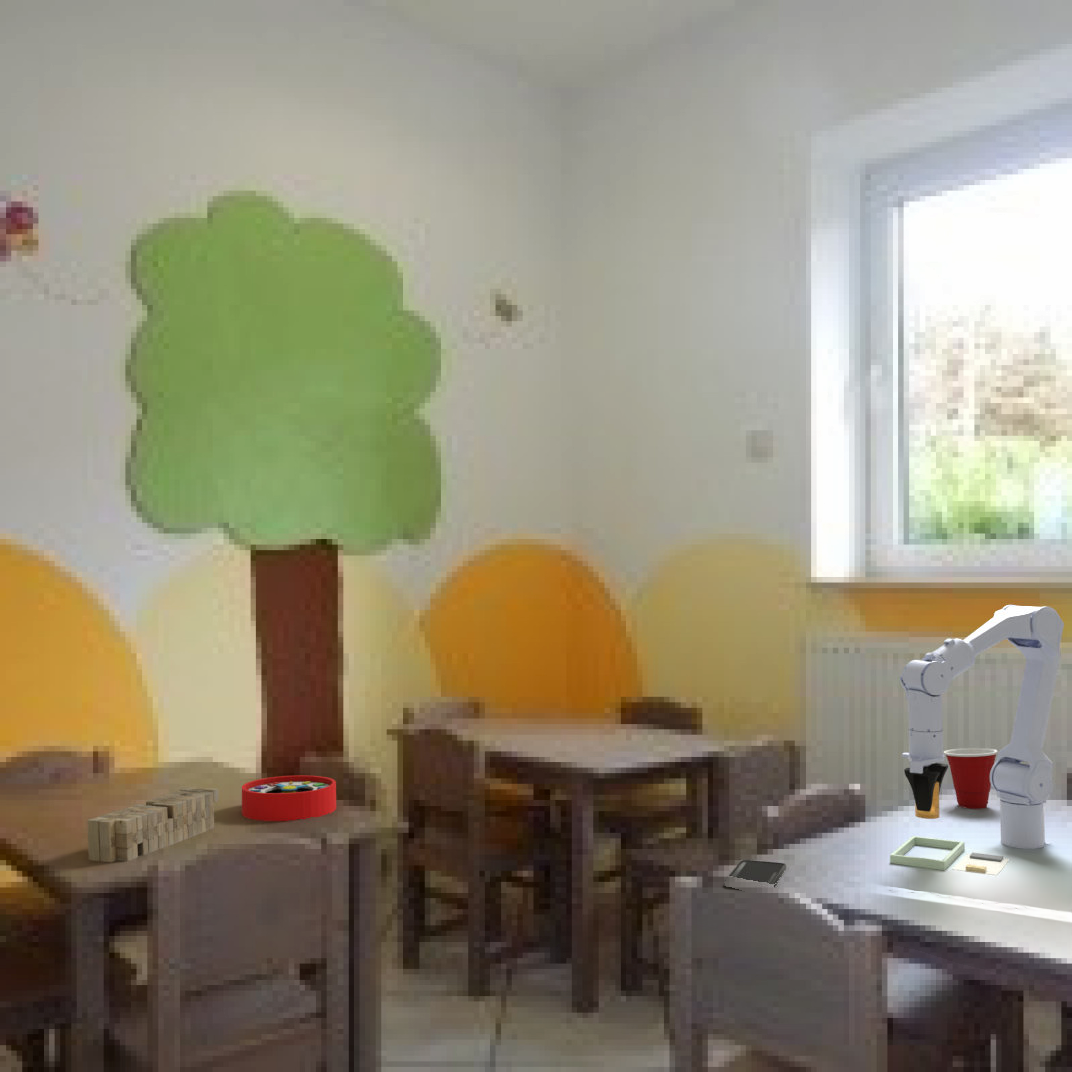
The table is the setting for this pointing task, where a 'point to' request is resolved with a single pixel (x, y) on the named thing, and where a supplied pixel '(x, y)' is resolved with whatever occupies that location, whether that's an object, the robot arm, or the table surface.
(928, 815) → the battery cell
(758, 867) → the phone
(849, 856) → the table surface
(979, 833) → the table surface
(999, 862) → the cream rectangular pad
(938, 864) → the pale green rectangular frame
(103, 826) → the block tower
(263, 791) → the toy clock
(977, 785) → the plastic cup
